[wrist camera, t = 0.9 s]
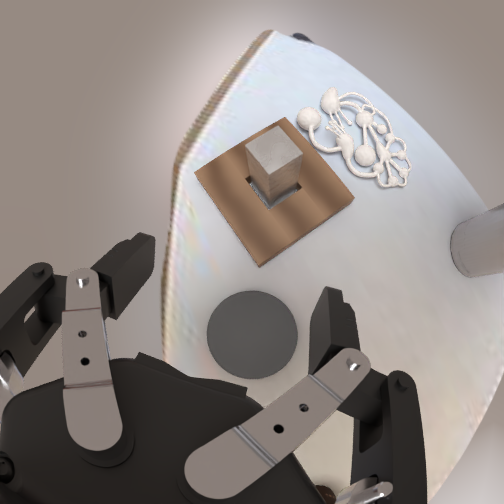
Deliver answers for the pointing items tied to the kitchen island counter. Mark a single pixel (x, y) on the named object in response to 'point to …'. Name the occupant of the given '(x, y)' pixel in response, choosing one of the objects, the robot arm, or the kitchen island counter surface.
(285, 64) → the kitchen island counter surface
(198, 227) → the kitchen island counter surface
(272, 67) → the kitchen island counter surface
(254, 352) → the rubber pad
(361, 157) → the tangled rod sculpture
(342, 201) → the socket block
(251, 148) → the steel peg
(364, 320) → the kitchen island counter surface
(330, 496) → the coffee mug
